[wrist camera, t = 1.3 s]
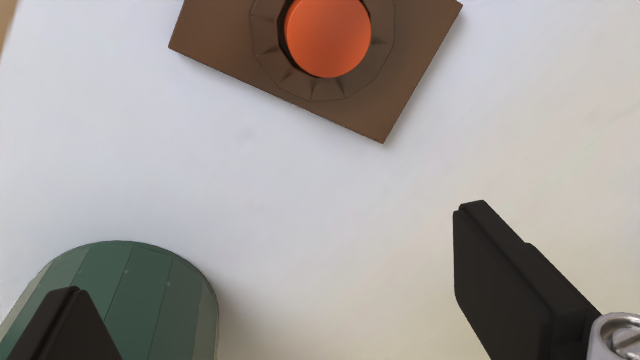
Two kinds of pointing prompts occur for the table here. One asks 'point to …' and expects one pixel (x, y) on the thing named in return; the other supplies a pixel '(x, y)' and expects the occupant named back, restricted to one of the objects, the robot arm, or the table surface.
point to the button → (327, 35)
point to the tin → (130, 300)
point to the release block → (309, 90)
